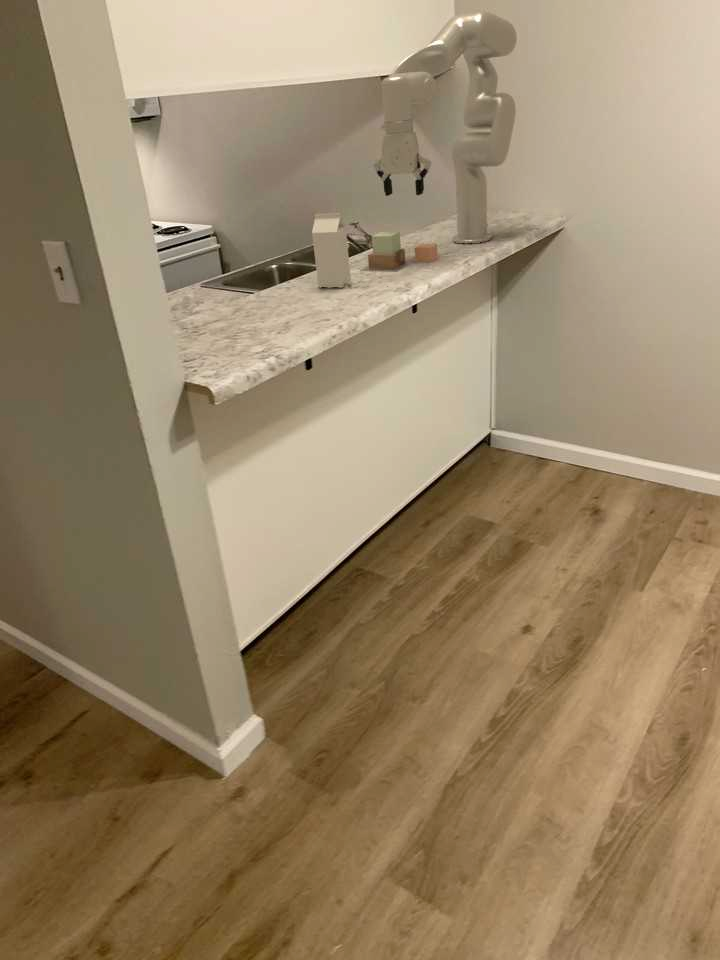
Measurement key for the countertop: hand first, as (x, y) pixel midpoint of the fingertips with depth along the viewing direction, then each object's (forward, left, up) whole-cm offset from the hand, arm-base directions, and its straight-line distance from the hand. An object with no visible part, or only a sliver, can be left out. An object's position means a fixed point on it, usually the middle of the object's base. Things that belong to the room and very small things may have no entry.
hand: (404, 194), depth 206 cm
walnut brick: (+4, -5, -19) cm, 20 cm away
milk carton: (+23, -12, -20) cm, 33 cm away
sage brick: (+4, -5, -15) cm, 16 cm away
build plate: (+4, -5, -20) cm, 21 cm away
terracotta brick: (-4, +4, -20) cm, 21 cm away
